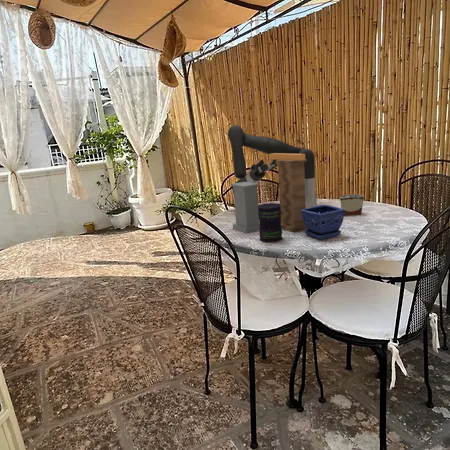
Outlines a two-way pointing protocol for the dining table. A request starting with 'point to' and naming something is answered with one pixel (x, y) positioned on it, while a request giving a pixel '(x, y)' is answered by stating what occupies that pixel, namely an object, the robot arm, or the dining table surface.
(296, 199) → the tall stand
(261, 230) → the storage jar
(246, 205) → the grey tall block
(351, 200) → the food container
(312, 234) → the flower pot
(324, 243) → the dining table surface
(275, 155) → the orange rectangular block
